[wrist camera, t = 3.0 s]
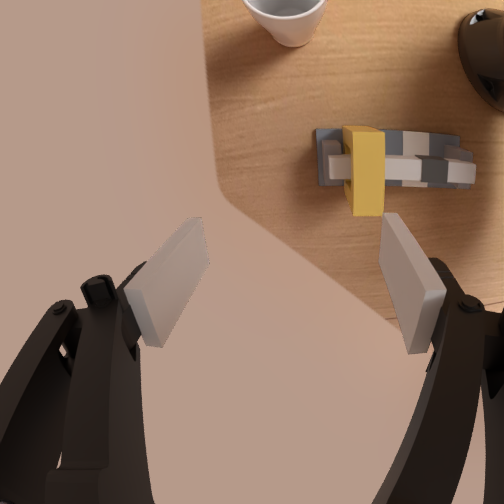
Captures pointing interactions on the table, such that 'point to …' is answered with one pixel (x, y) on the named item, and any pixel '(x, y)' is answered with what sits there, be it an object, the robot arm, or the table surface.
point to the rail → (391, 148)
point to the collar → (365, 170)
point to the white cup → (288, 18)
